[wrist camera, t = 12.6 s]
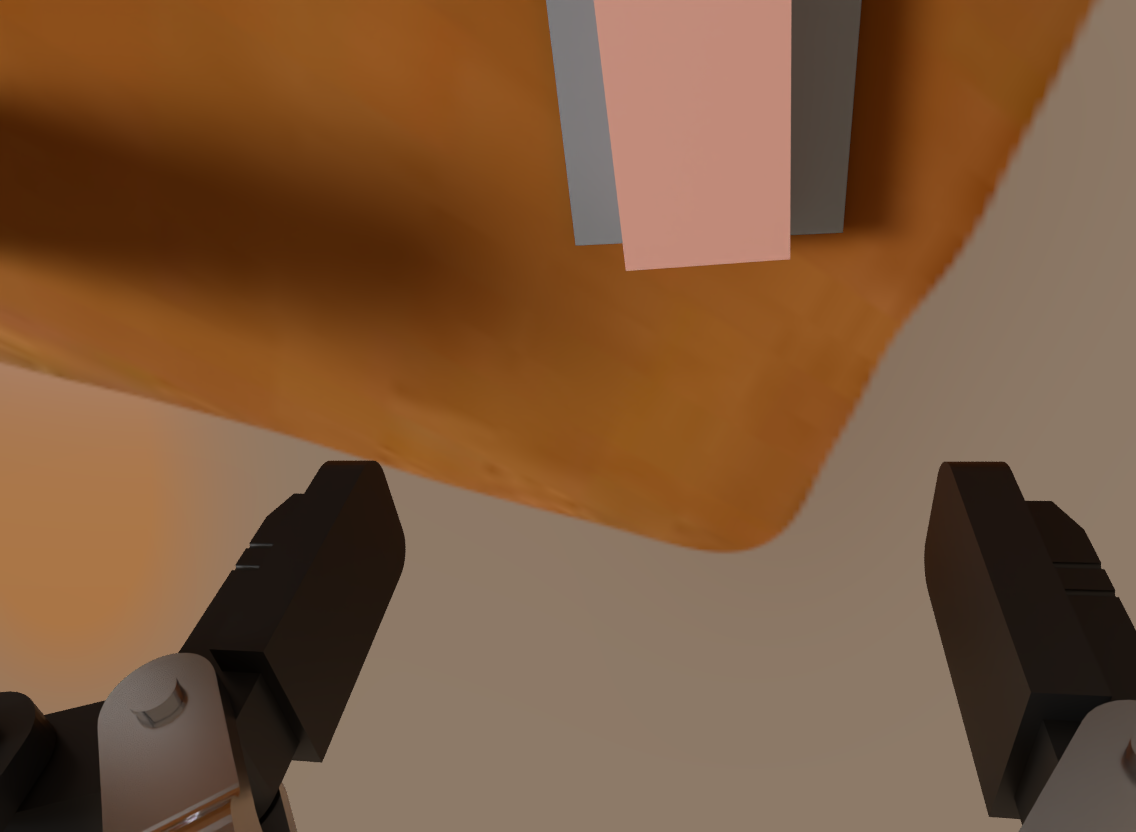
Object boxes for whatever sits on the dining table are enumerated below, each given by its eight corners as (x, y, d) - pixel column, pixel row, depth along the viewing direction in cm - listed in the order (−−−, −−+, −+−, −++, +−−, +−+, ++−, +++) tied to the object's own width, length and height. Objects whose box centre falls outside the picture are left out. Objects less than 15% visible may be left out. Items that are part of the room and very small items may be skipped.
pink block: (575, -300, 20) (556, -317, 18) (784, -346, 19) (793, -371, 17) (634, 232, 28) (626, 270, 26) (783, 220, 27) (790, 259, 24)
